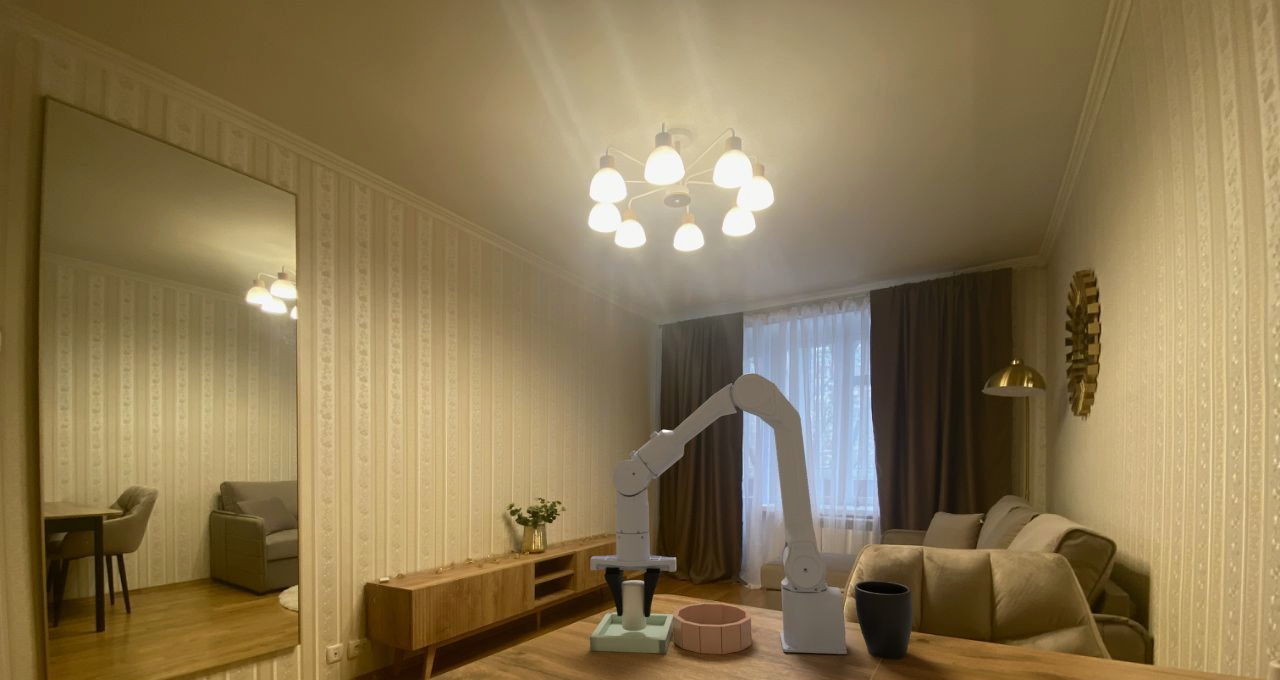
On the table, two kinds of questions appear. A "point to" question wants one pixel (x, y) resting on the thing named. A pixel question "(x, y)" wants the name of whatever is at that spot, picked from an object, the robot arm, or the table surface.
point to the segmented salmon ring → (712, 628)
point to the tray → (632, 635)
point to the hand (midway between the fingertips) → (634, 615)
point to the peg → (633, 605)
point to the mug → (884, 617)
